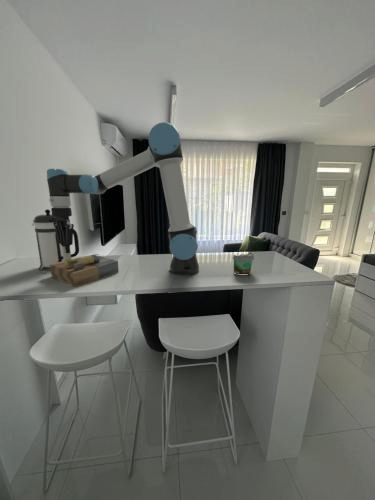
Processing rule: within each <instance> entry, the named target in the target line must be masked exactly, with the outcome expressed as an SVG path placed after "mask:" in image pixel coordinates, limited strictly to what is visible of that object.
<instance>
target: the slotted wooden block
mask: <svg viewBox="0 0 375 500" xmlns="http://www.w3.org/2000/svg"><path fill="white" fill-rule="evenodd" d="M91 255H92V254H91ZM91 255H89V256H91ZM86 256H87V255H86ZM86 256H84V257H86ZM99 256H100V255H99ZM49 269H50V273H51V277H52V278H54V279H56V280H59V281H60V282H63V283H65V284H68V285H70V286H72V287H79V286H82V285H85V284H88V283H92V282H94V280H95V281H97V279H98V280H100V278H101V279H103V277H104V278H106V277H105V276H107V277H109V275H110V276H113V275H116V274H119V272H120V271H119V261H118V260H116V259H111V258H108V257H104V256H100V262H98V263H90V264H85V265H84V263H83V262H80V263H76V264H73V267H71V268H66V267H65V262H64V261H63V262H58V263H54V264H50V267H49ZM112 274H113V275H112Z"/></svg>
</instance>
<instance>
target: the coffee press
mask: <svg viewBox="0 0 375 500" xmlns="http://www.w3.org/2000/svg"><path fill="white" fill-rule="evenodd" d="M44 213H45V214H39V215H36V216H35V217H34V219H33V220H32V221H33V222H31V226H33V227H34V232H35V236H36V243H37V248H38V256H39V263H40V265H39V267H38V270H39V271H44V269H46V268H50V264H54V263H58V262H63V261H64V259H63V251H62V246H61V244H59V242H58V238H57V234H56V230H55V227H54V224H53V223H54V222H56V217H53V216H52V213H51V210H50V209H45V210H44ZM73 241H74V253H71V258H74V257H75V258H76V257H77V256H78V255H79V253H80V244H79V235H78V232H77V231H76V229H74V228H73Z"/></svg>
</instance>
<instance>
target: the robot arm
mask: <svg viewBox="0 0 375 500" xmlns="http://www.w3.org/2000/svg"><path fill="white" fill-rule="evenodd" d="M183 160H184V156H183V149H182V143H181V136H180V132H179V131H178V129H177V128H176V127H175V126H174V125H173V124H171V123H169V122H166V121H163V122H162V121H161V122H158V123H156V124H155V125H153V126H152V128H151V129H150V131H149V134H148V147H147V149H146V150H144V151H143V152H141V153H138V154H137V155H134V156H133V157H131V158H128V159H127V160H125V161H123V162H120V163H118V164H117V165H114V166H113V167H111V168H109V169H107V170H105V171H103V172H101V173H99V174H97V175H95V176H94V175H93V174H68V170H66V169H62V168H48V169H47V170H46V181H47V187H48V193H49V194H48V195H49V199H48V200H49V202H50V206H51V208H50V209H51V210H50V212H51V214H52V216H53V217H56V222H54V223H53V224H54V227H55V230H56V234H57V238H58V242H59V244H61V246H62V251H63V259H64V260H69V259H72V257H71V254H72V252H71V245H73V244H74V243H73V241H74V235H73V229H74V228H75V226H74V225H75V224H74V223H71V220H70V217H72V215H73V214H72V213H73V211H72V208H71V206H72V203H71V194H87V195H88V194H89V195H91V194H92V195H99V196H100V195H102V194H105V192H106V191H107V190H109V189H111V188H113V187H116V186H117V185H119V184H121V183H124V182H125V181H127V180H129V179H132V178H134V177H136V176H138V175H140V174H142V173H143V172H146V171H149V170H150V169H152V168H154V167H156V168H158V169H159V173H160V178H161V182H162V188H163V193H164V198H165V204H166V209H167V215H168V219H169V228H168V230H167V233H168V238H169V251H170V253H171V255H172V259H171V262H170V265H169V270H170V272H171V273H173V274H177V275H193V274H197V273H198V272H199V271H200V266H199V262H198V258H197V251H198V248H199V247H198V246H199V245H198V238H197V234H198V230H197V227H196V226H195V225H194V224H192V223H191V220H190V215H189V209H188V203H187V197H186V191H185V190H186V189H185V185H184V178H183V174H182V173H183V172H182V167H181V164H182V163H183Z"/></svg>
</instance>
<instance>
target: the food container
mask: <svg viewBox="0 0 375 500" xmlns="http://www.w3.org/2000/svg"><path fill="white" fill-rule="evenodd" d="M254 256H255V255H254V254H253V253H252V252H251V251H249V253H247V254H239V255H235V254H233V256H232V260H233V274H234V273H236V274H249V273H250V274H251V271H252V266H253V265H252V264H253V261H254V259H255V257H254ZM250 274H249V275H250Z"/></svg>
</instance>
